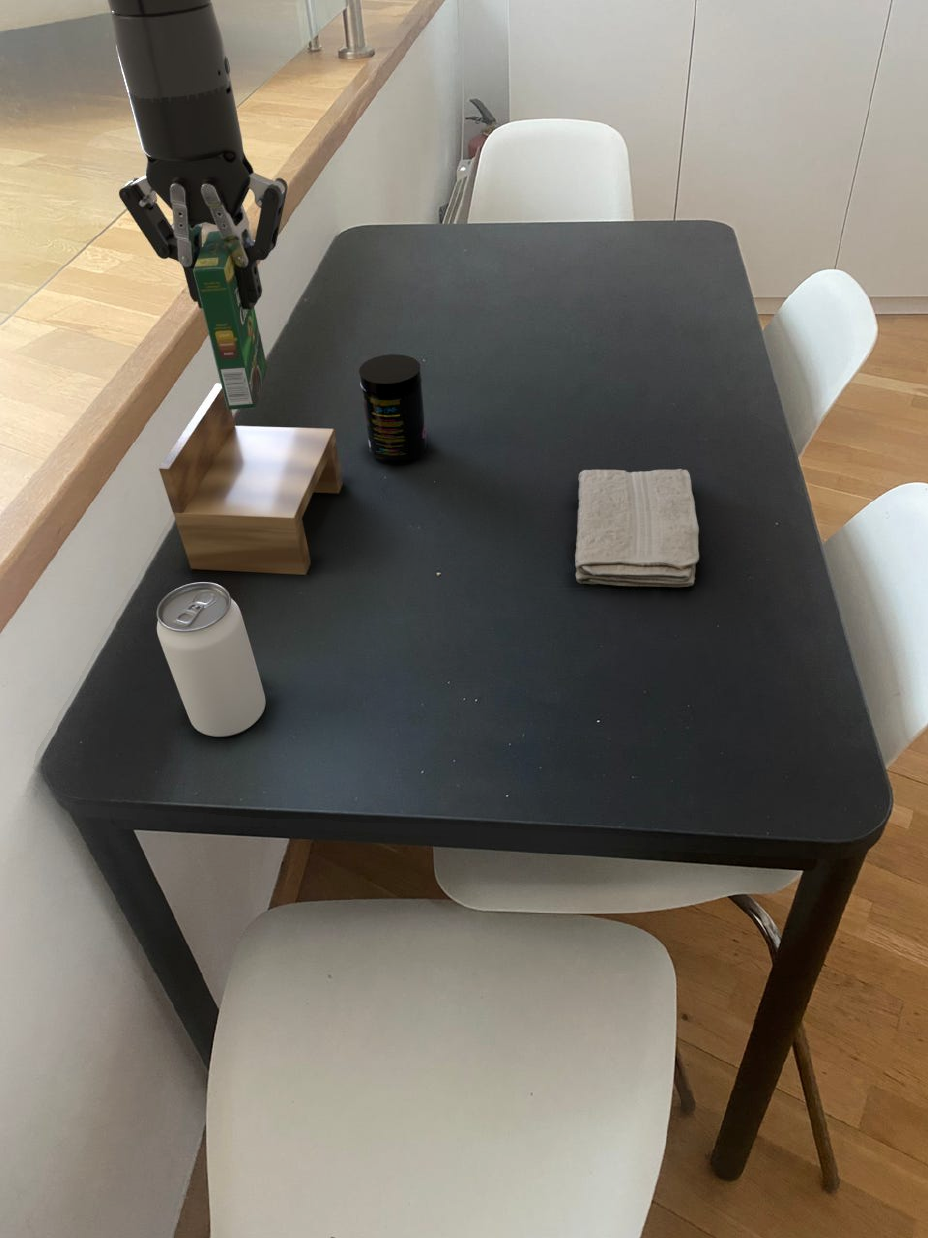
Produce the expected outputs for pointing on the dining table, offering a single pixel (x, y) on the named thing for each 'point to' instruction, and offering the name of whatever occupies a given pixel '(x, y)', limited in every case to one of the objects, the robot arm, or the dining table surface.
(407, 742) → the dining table surface
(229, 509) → the shelf
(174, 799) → the dining table surface
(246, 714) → the can
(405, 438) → the supplement container
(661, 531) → the washcloth
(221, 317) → the coffee box
